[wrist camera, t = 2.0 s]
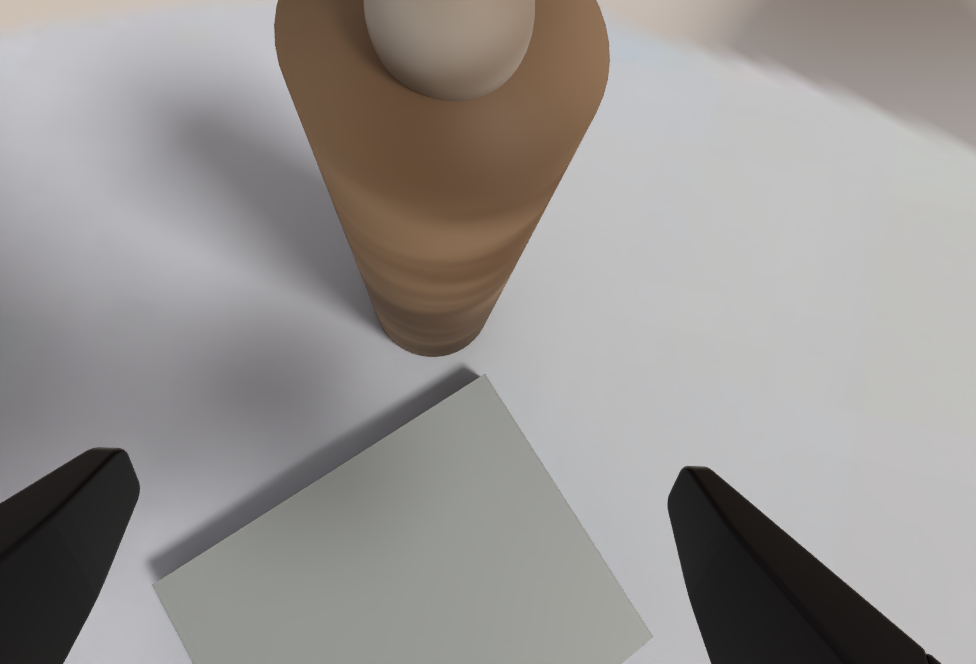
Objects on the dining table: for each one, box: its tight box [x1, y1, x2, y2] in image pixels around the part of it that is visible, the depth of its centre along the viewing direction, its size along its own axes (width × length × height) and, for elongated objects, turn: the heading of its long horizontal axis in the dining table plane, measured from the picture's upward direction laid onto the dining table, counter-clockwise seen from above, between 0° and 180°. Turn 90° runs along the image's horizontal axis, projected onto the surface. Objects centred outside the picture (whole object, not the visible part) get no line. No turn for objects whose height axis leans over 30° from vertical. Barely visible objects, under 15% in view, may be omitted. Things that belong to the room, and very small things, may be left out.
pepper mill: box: [274, 0, 610, 357], centre depth 14 cm, size 5×5×17 cm
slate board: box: [152, 374, 653, 664], centre depth 19 cm, size 14×12×1 cm
